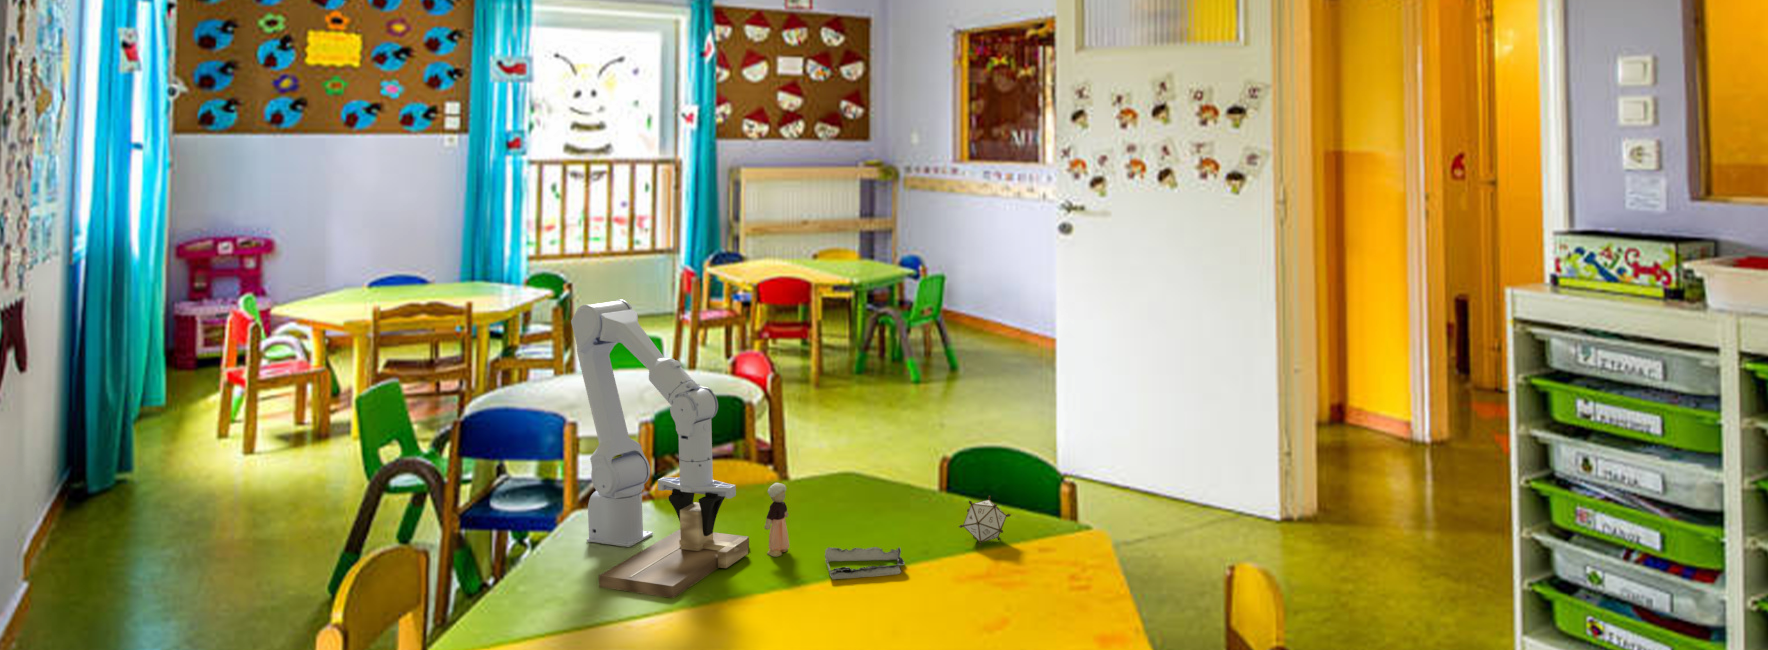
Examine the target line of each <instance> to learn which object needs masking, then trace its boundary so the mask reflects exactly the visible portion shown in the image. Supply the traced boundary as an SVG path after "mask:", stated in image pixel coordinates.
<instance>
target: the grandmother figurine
mask: <svg viewBox="0 0 1768 650" xmlns="http://www.w3.org/2000/svg"><path fill="white" fill-rule="evenodd" d="M786 491H787V486H786V484H783V483H779V482H774V483H773V484H772V485H770V486H769V487H768V490H767V493H768V496H769V497H770V499H771V500H772V503H771V504H770V506H769V510H768V513H767V515H766V518H765V519H766V521H765V524H764V529H765V530H770V531H769V536H768V537H769V538H768V549H769V550H768V551H767V553H766V554H767V555H768V556H771V557H775V558H776V557H780V556H782V555H783V553H786V552H787V551H788V550H789V548H790V540H789V533H788V528H787V523H786V522H787V521H786V518H788V517H789V512H788V507H787V505H786V503H785V501H784V500H785V499H786Z"/></svg>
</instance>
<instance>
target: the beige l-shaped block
mask: <svg viewBox="0 0 1768 650" xmlns="http://www.w3.org/2000/svg"><path fill="white" fill-rule="evenodd" d="M679 524H680V525H679V529H680V533H681V539H680V540H679V545H680V546H681V549H686V550H693V551H700V550H702V549H710V550H718V567H719V568H720V569H728V568H729V567H730V566H732V565H733V564H735V563H736V562H738V561H739V560H741V559H742V558H744V557H745V556H746V555H748V554H749V548H748V538H742V537H739V538H738V539H736V540H735V541H733V542H724V541H716V540H713V533H712V534H710V535H709V536H704V534H703V519H702V512H701V508H700V504H699V502H697V501H696V502H694V501H693V503H692V504H690V505H688V506H686V507H685V508H683V509H681V510H680V521H679Z"/></svg>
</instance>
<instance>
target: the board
mask: <svg viewBox="0 0 1768 650" xmlns="http://www.w3.org/2000/svg"><path fill="white" fill-rule="evenodd" d="M739 537H742V538H748V549H749V548H750V536H747V535H739V534H729V533H721V532H714V531H713V540H716V541H724V542H733V541H735V540H736V539H738V538H739ZM680 539H681V533H680V528H679V529H677V530H675V531H674V532H672V533H670V534H669V535H666V536H665V537H663V538H662V539H660V540H658V541H656V542H655V543H653V544H651V545H650V546H648V547H646V548H644V549H642V550H640V551H639V552H637V553H636V554H633V555H632V556H630V557H628V558H627V559H625V560H623V561H621V562H620V563H618V564H616V565H614V566H612V567H611V568H609V569H607V570H605V571H604V572H601V573H600V574H599V575H598V586H599V588H604V589H612V590H618V591H625V592H629V593H639V594H644V595H650V596H657V597H664V598H669V599H674V598H676V597H677V596H679V595H681V594H682V593H683V592H685V591H686V590H688V589H689V588H690V587H692V586H694V585H695V584H697V583H699V582H700V581H701V580H703V579H705V578H706V577H708V576H709V575H710V574H712V573H714V571H716V570H718V569H719V568H720V567H718V550H710V549H702V550H700V551H693V550H686V549H681V546H680V545H679V540H680Z"/></svg>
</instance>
